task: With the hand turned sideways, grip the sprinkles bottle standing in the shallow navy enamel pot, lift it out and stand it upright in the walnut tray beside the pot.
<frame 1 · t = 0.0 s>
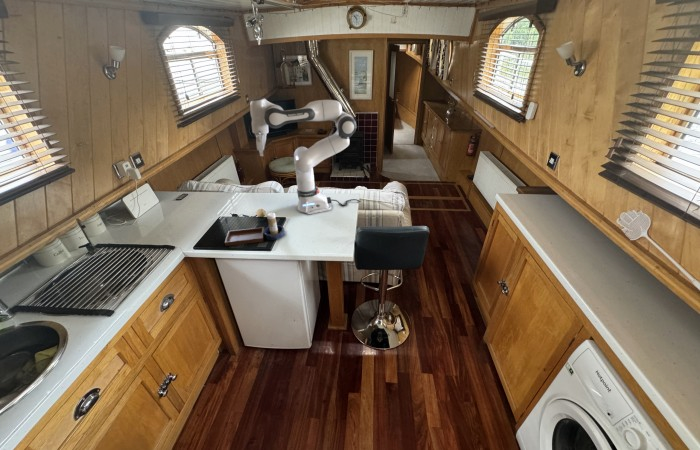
hand: (262, 153, 166), 39 cm above the countertop, tool pointing down, fingers open, 8 cm apart
tray: (245, 237, 160), on the countertop
enamel pot: (274, 234, 162), on the countertop
sprinkles bottle: (274, 234, 163), resting in enamel pot
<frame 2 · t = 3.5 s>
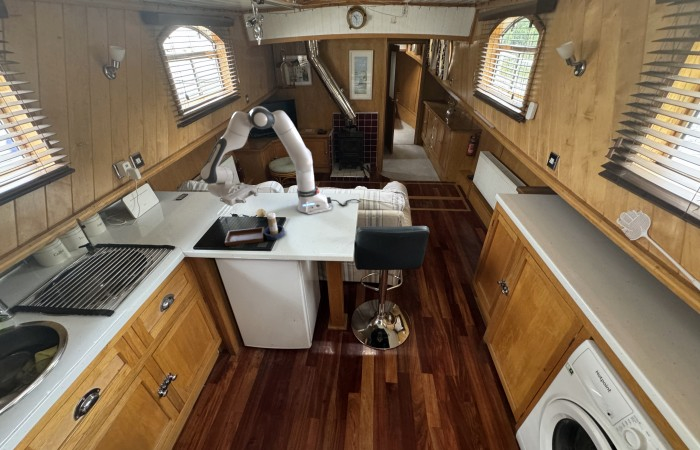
hand: (251, 197, 156), 21 cm above the countertop, tool horizontal, fingers open, 8 cm apart
nothing on the countertop moved.
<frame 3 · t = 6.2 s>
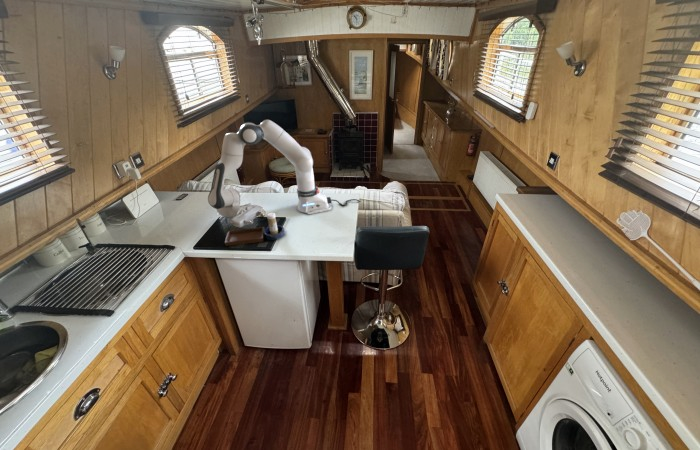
hand: (258, 218, 162), 8 cm above the countertop, tool horizontal, fingers open, 8 cm apart
nothing on the countertop moved.
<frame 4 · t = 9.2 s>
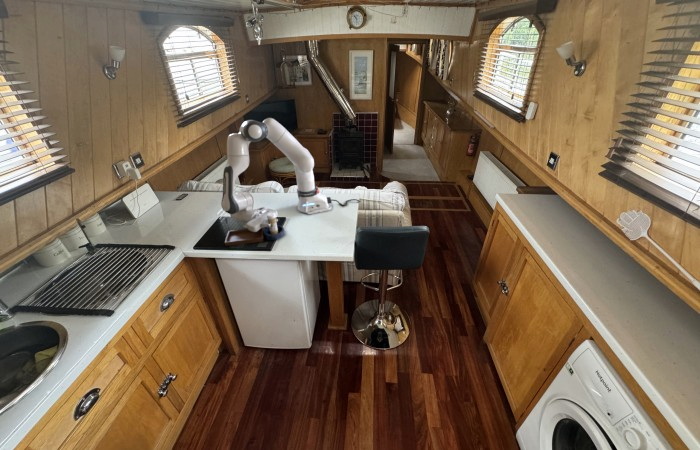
hand: (273, 222, 158), 8 cm above the countertop, tool horizontal, fingers closed on sprinkles bottle, 4 cm apart
sprinkles bottle: (274, 234, 163), resting in enamel pot, touching gripper
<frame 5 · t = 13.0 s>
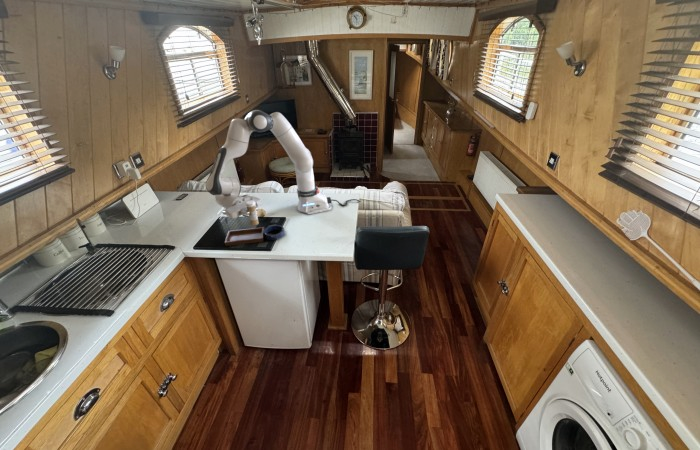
hand: (253, 211, 151), 17 cm above the countertop, tool horizontal, fingers closed on sprinkles bottle, 4 cm apart
sprinkles bottle: (254, 224, 156), point 9 cm above the countertop, touching gripper
when the fingers open (9 cm above the countertop, at t = 17.0 s): sprinkles bottle stays where it is, resting on tray.
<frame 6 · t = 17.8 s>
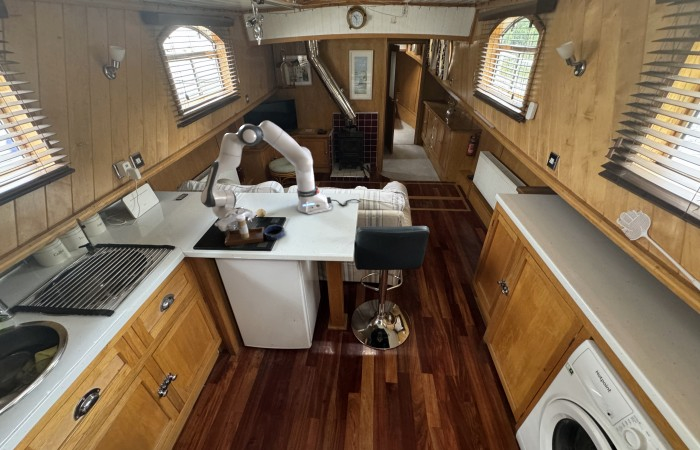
hand: (243, 224, 155), 9 cm above the countertop, tool horizontal, fingers open, 8 cm apart
sprinkles bottle: (245, 237, 160), resting on tray
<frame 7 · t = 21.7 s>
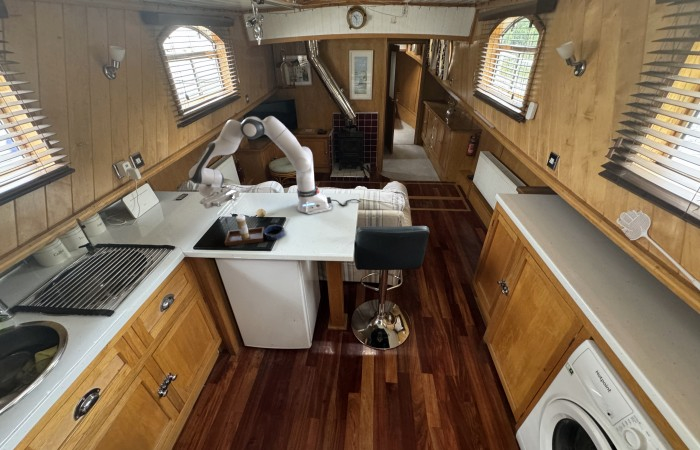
hand: (227, 202, 157), 19 cm above the countertop, tool horizontal, fingers open, 8 cm apart
nothing on the countertop moved.
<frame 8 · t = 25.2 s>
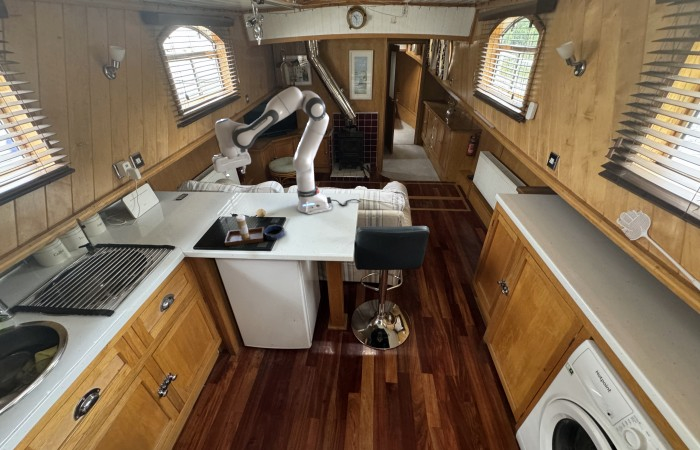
hand: (235, 175, 157), 31 cm above the countertop, tool pointing down, fingers open, 8 cm apart
nothing on the countertop moved.
at the end: sprinkles bottle inside the target area in the tray (0.1 cm from its centre), point 0.4 cm above the tray's base; sprinkles bottle tilted 0°; the gripper is holding nothing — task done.
